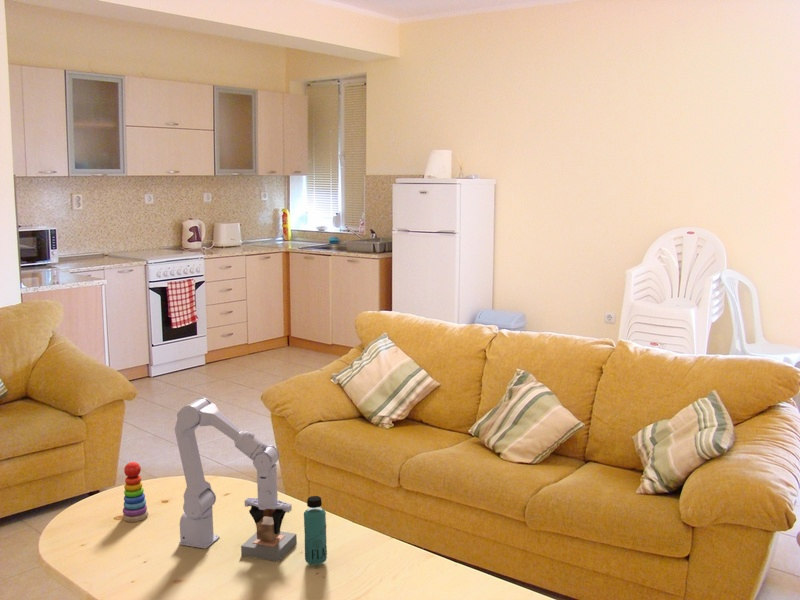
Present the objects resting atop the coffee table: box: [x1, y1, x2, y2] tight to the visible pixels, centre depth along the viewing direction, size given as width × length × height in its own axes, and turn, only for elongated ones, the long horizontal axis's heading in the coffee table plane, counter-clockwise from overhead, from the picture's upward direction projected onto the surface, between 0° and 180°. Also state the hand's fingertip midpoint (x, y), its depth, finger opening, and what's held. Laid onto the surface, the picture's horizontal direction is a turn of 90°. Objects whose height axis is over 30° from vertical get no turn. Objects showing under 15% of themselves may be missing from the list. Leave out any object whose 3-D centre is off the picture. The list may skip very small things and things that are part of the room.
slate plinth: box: [240, 530, 298, 563], centre depth 227 cm, size 12×12×3 cm
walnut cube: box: [255, 516, 280, 542], centre depth 226 cm, size 5×5×5 cm
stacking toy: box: [122, 461, 149, 523], centre depth 248 cm, size 8×8×19 cm
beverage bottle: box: [303, 495, 328, 566], centre depth 217 cm, size 6×7×20 cm
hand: (268, 531), depth 227 cm, fingers closed on walnut cube, 5 cm apart
